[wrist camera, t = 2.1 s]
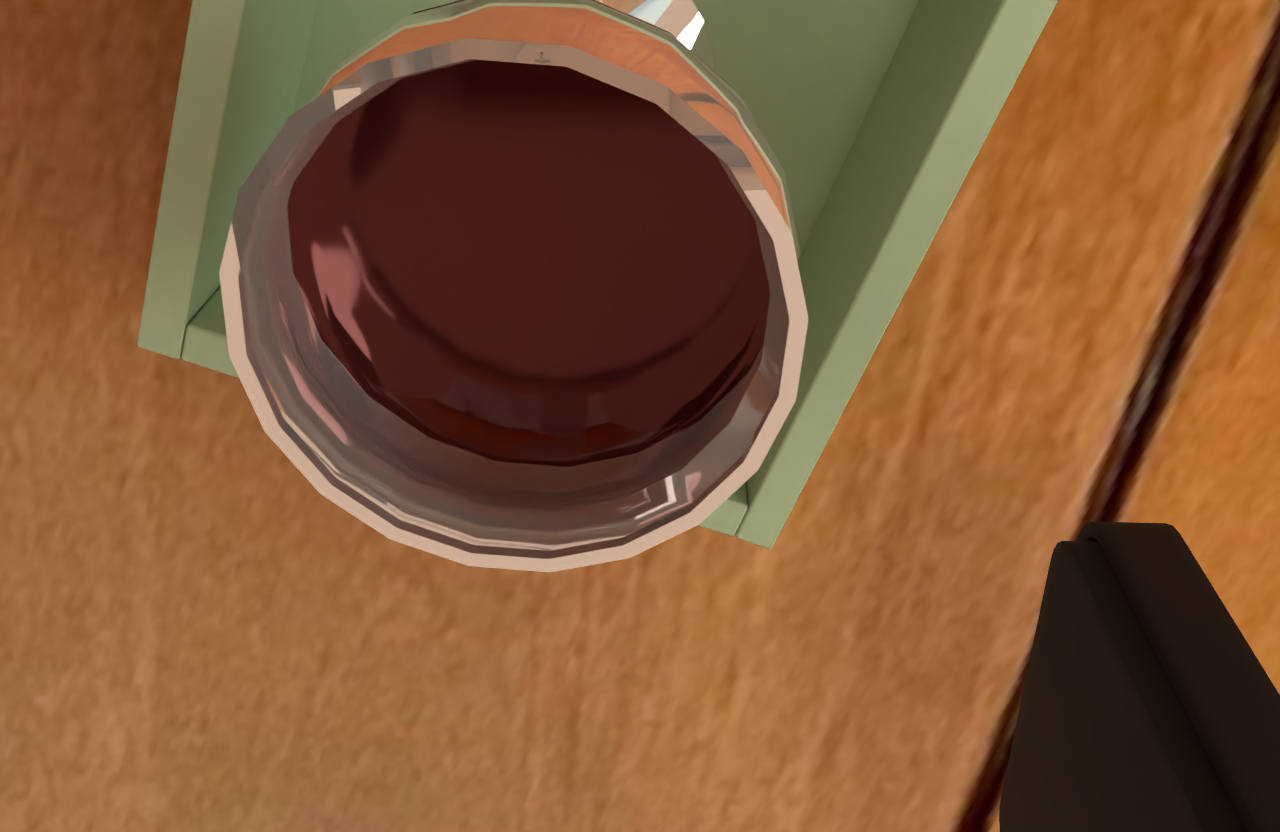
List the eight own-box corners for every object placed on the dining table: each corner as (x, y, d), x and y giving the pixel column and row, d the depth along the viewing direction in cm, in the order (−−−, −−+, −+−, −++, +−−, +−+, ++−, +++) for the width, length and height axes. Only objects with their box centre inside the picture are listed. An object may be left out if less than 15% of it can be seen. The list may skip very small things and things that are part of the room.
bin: (234, 237, 26) (134, 347, 22) (362, -411, 20) (263, -453, 16) (758, 414, 28) (771, 550, 23) (1020, -133, 22) (1109, -96, 17)
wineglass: (828, 93, 24) (934, 371, 13) (580, 292, 26) (508, 659, 16) (603, -194, 21) (519, -123, 11) (353, 55, 24) (91, 304, 13)
